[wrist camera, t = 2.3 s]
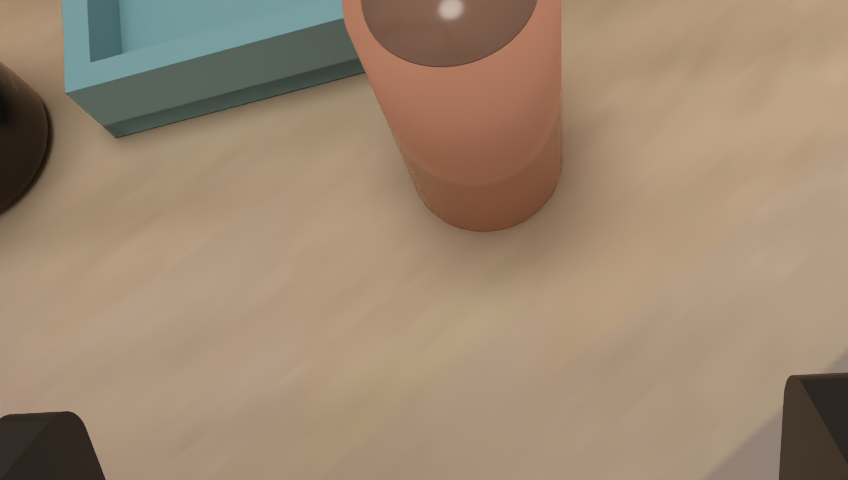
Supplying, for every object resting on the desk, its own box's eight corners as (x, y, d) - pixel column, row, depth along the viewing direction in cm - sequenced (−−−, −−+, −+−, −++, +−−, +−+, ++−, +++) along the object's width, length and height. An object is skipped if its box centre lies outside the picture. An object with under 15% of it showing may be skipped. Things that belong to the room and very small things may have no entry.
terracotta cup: (428, 247, 28) (360, 109, 19) (400, 115, 30) (325, -69, 21) (579, 210, 28) (586, 50, 18) (540, 79, 29) (530, -127, 20)
